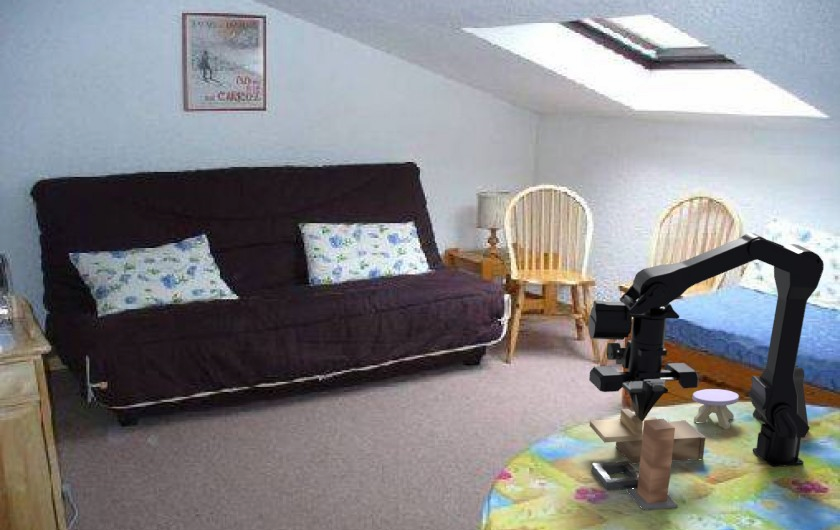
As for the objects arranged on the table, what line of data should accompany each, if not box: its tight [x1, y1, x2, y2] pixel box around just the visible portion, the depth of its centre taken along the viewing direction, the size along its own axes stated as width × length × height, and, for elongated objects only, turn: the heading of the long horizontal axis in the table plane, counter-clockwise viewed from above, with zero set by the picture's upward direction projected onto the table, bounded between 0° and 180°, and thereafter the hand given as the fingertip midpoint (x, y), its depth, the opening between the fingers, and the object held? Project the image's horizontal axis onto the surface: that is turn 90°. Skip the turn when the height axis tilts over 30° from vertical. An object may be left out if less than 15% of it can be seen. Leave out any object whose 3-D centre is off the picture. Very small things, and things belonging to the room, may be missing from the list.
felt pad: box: [626, 488, 679, 511], centre depth 129 cm, size 6×6×1 cm
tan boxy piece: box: [615, 420, 706, 465], centre depth 145 cm, size 14×7×4 cm, turn 100°
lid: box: [589, 408, 658, 443], centre depth 143 cm, size 13×7×3 cm, turn 100°
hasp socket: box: [591, 460, 639, 491], centre depth 135 cm, size 7×7×2 cm
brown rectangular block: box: [637, 418, 675, 503], centre depth 128 cm, size 4×4×13 cm
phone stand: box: [752, 365, 809, 426], centre depth 158 cm, size 9×6×12 cm, turn 18°
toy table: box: [692, 388, 740, 430], centre depth 160 cm, size 10×9×6 cm
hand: (639, 420), depth 143 cm, fingers closed
